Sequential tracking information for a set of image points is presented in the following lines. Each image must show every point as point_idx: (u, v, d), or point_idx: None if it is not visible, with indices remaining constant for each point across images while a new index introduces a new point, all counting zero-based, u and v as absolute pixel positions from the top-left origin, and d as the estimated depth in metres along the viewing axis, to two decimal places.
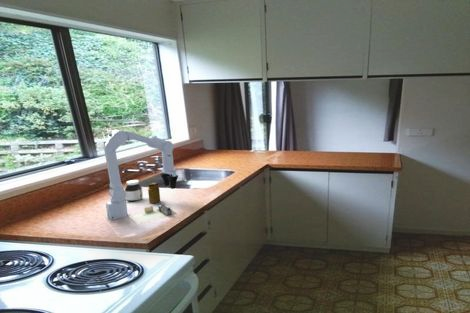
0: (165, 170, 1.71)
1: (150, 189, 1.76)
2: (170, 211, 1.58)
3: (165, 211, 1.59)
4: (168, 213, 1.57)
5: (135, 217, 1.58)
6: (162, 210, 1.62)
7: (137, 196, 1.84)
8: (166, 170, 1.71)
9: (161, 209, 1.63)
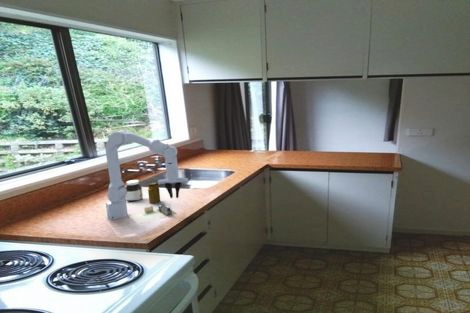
0: (174, 179, 1.54)
1: (150, 189, 1.76)
2: (170, 211, 1.58)
3: (165, 211, 1.59)
4: (168, 213, 1.57)
5: (135, 217, 1.58)
6: (162, 210, 1.62)
7: (137, 196, 1.84)
8: (175, 178, 1.55)
9: (161, 209, 1.63)
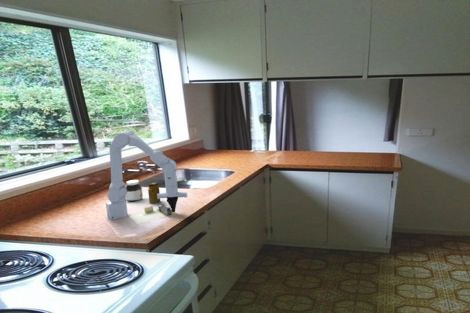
0: (173, 193, 1.56)
1: (150, 189, 1.76)
2: (170, 211, 1.58)
3: (165, 211, 1.59)
4: (168, 213, 1.57)
5: (135, 217, 1.58)
6: (162, 210, 1.62)
7: (137, 196, 1.84)
8: (174, 193, 1.56)
9: (161, 209, 1.63)
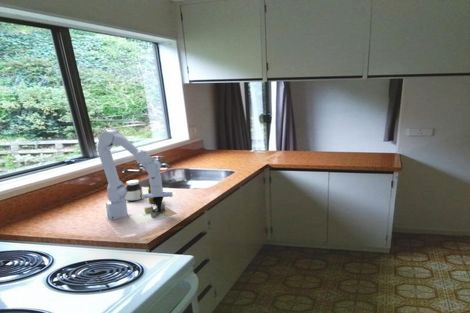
0: (158, 193, 1.56)
1: (150, 189, 1.76)
2: (154, 213, 1.56)
3: None
4: (152, 215, 1.56)
5: (135, 217, 1.58)
6: None
7: (137, 196, 1.84)
8: (159, 193, 1.56)
9: None
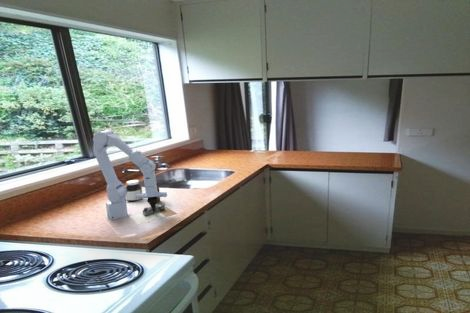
0: (153, 193, 1.56)
1: None
2: (144, 212, 1.59)
3: None
4: (143, 213, 1.59)
5: (135, 217, 1.58)
6: None
7: None
8: (154, 193, 1.56)
9: None
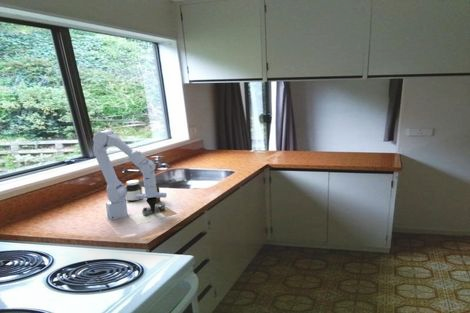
0: (152, 194, 1.56)
1: None
2: (143, 212, 1.59)
3: None
4: None
5: (135, 217, 1.58)
6: None
7: None
8: (153, 193, 1.56)
9: None
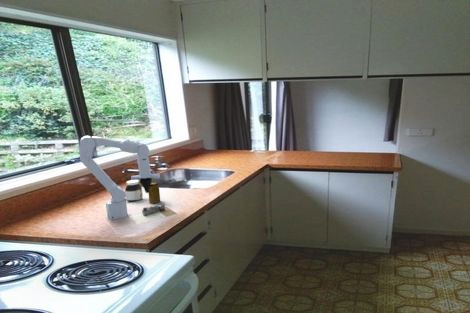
0: (146, 174, 1.62)
1: (150, 189, 1.76)
2: (143, 212, 1.59)
3: None
4: (142, 212, 1.60)
5: (135, 217, 1.58)
6: None
7: (137, 196, 1.84)
8: (147, 174, 1.62)
9: None
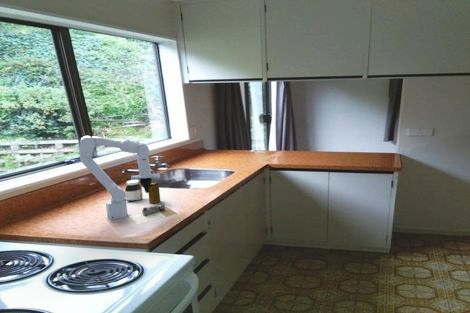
0: (146, 174, 1.62)
1: (150, 189, 1.76)
2: (143, 212, 1.59)
3: None
4: (142, 212, 1.60)
5: (135, 217, 1.58)
6: None
7: (137, 196, 1.84)
8: (147, 174, 1.62)
9: None
